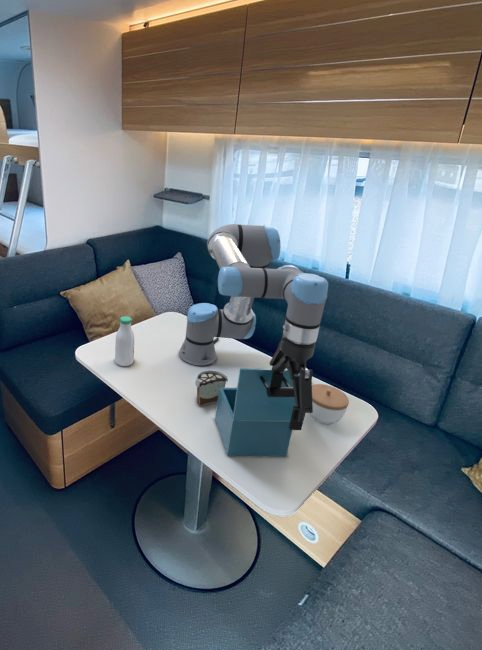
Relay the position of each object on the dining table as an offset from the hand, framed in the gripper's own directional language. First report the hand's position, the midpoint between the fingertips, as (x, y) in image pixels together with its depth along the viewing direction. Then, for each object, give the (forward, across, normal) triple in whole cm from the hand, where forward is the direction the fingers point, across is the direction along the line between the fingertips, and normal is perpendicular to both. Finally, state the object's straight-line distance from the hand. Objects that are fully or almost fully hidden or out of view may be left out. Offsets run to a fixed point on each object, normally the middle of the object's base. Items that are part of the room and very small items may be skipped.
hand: (283, 410), depth 105 cm
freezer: (+25, -18, 0) cm, 31 cm away
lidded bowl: (+25, -28, +29) cm, 47 cm away
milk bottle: (+25, -61, -39) cm, 76 cm away
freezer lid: (+3, -10, 0) cm, 11 cm away
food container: (+25, -37, -10) cm, 46 cm away
